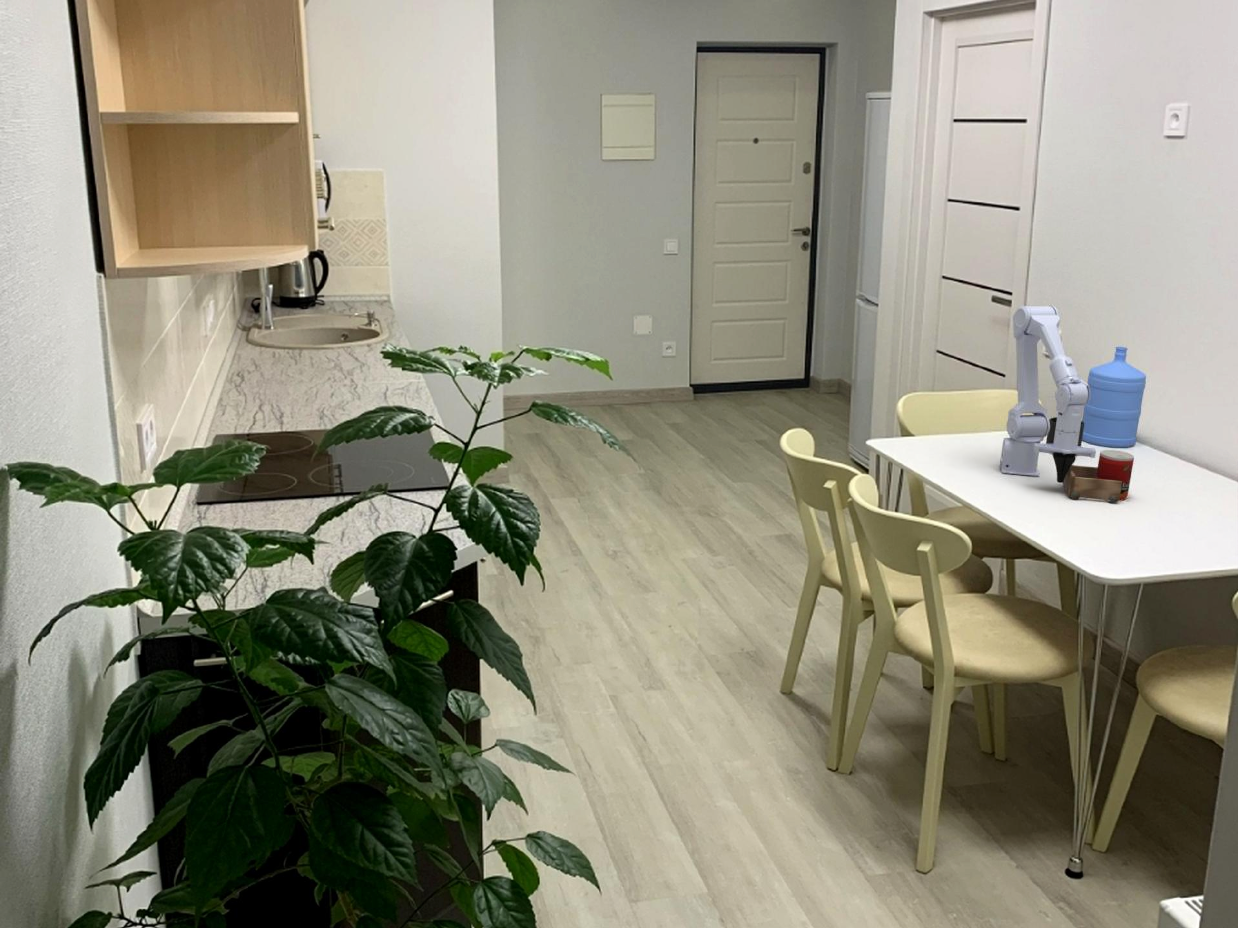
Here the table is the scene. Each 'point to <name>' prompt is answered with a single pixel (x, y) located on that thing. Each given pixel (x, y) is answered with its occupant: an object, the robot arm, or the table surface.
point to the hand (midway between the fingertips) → (1059, 481)
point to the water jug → (1113, 403)
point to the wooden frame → (1090, 485)
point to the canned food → (1116, 468)
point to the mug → (1052, 432)
